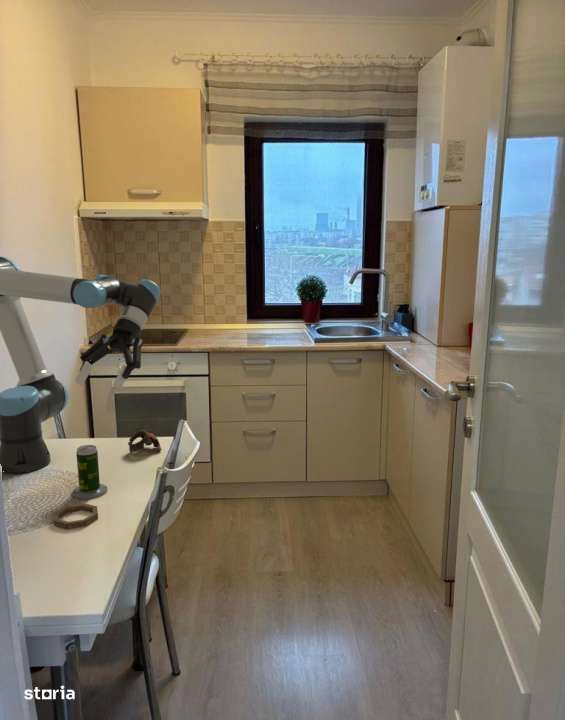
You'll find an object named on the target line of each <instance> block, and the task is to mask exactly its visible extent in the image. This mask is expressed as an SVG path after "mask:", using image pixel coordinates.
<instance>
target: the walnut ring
mask: <svg viewBox="0 0 565 720" xmlns="http://www.w3.org/2000/svg"><path fill="white" fill-rule="evenodd" d="M78 512H87V513H91V514H90V515H88V516H86V517H85V518H83V519H78V520H73V521H72V520H71V521H66V520H63V519H61V518H62V517H64V516H66V515H68V514H71V513H78ZM98 519H99V512H98V506H96V505H93V504H89V503H79V504H78V503H77V504H71V505H67V506H64V507H62V508H60V509H59V510H57V511H55V512H54V513H53V527H56V528H58V529H61V530H66V531H67V530H68V531H69V530H75V529H80V528H86V527H88V526H90V525H92V524H93V523H95V522H96V521H98Z"/></svg>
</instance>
